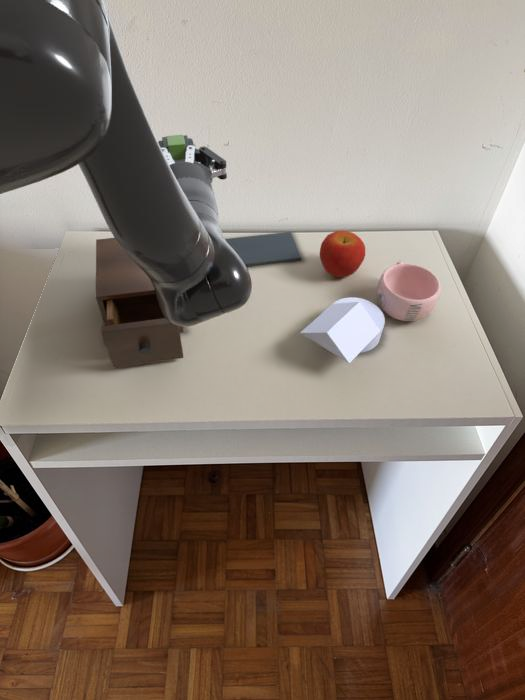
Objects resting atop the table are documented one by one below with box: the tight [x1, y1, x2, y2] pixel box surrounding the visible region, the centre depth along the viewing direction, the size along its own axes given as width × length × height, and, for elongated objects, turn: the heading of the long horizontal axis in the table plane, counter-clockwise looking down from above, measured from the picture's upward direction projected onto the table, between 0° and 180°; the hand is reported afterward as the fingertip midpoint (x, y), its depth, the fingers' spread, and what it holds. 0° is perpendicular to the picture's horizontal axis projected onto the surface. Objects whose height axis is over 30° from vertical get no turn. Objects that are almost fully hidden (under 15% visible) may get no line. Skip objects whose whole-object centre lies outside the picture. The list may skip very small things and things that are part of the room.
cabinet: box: [95, 237, 184, 333], centre depth 79 cm, size 14×12×10 cm
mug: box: [376, 260, 442, 322], centre depth 83 cm, size 12×10×6 cm
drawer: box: [101, 294, 184, 369], centre depth 75 cm, size 14×10×8 cm
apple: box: [319, 230, 366, 278], centre depth 87 cm, size 8×8×8 cm
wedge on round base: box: [300, 296, 386, 364], centre depth 77 cm, size 9×7×13 cm
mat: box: [224, 231, 302, 267], centre depth 93 cm, size 22×8×1 cm, turn 102°
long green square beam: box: [165, 134, 186, 160], centre depth 79 cm, size 2×3×15 cm
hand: (175, 142), depth 76 cm, fingers closed on long green square beam, 2 cm apart
